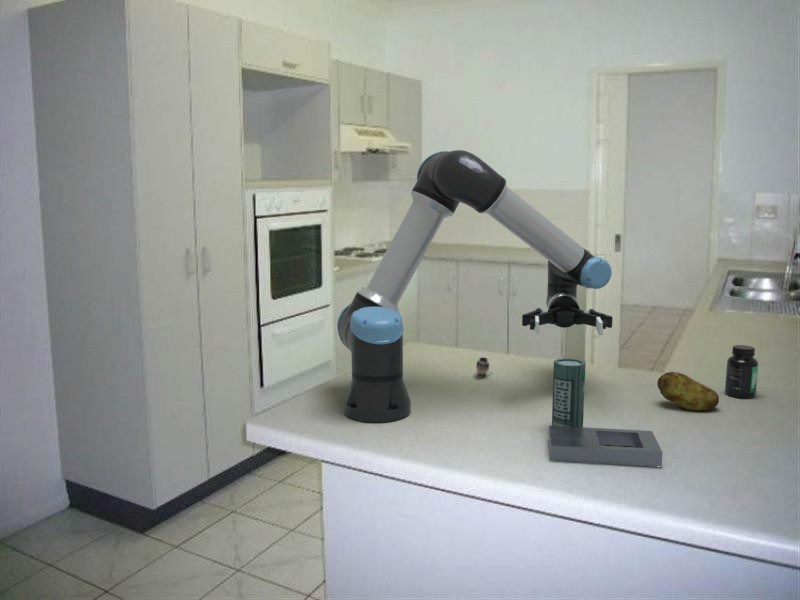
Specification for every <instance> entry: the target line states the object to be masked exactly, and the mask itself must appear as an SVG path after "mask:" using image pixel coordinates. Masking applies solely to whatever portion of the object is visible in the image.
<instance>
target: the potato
mask: <svg viewBox="0 0 800 600" xmlns="http://www.w3.org/2000/svg"><path fill="white" fill-rule="evenodd" d="M657 388H658V390H659V393H660V394H661V396H662V397H663V398H664V399H665V400H667V401H668V402H669V401H670V402H671V403H674V404H676V405H677V406H679V407H680V408H682V409H685V410H689V411H707V410H711V409H715V408H716V407H717V406H718V405H719V402H720V396H719V394H718V392H717V391H715V390H714V389H712V388H711V387H709V386H707V385H704V384H702V383H700V382H698V381H697V380H695V379H693V378H691V377H690V376H688V375H687V374H684V373H681V372H679V371H678V372H677V371H668V372H665V373H664V374H662V375H661V376H660V377H659V378H658V379H657Z"/></svg>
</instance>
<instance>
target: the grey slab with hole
mask: <svg viewBox="0 0 800 600" xmlns="http://www.w3.org/2000/svg"><path fill="white" fill-rule="evenodd" d="M606 445H610V446H606ZM611 445H612V446H611ZM623 446H630V447H623ZM631 446H632V447H631ZM548 447H549V459H550V461H551V462H562V461H566V462H565V463H579V464H581V463H583V464H595V463H597V465H611V464H613V465H615V466H628V465H631V466H632V467H644V466H656V467H655V468H658V467H657V466H660V467H663V463H662V462H663V454H664V453H663V450H662V448H661V446H660V444H659V442H658V439H656V436H655V434H654V432H653V431H652V430H644V429H642V430H641V429H640V430H639V429H638V430H637V429H622V428H621V429H620V428H619V429H618V428H603V427H602V428H601V427H587V426H586V427H584V426H583V427H567V426H552V425H548ZM631 466H630V467H631ZM660 467H659V468H660Z"/></svg>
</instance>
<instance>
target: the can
mask: <svg viewBox="0 0 800 600" xmlns="http://www.w3.org/2000/svg"><path fill="white" fill-rule="evenodd" d="M552 371H553V372H552V373H553V376H552V377H553V379H552V407H551V410H552V411H551V426H567V427H584V412H585V411H584V410H585V408H584V407H585V389H586V388H585V385H586V384H585V383H586V382H585V381H586V362H585V361H584V360H582V359H575V358H568V357H567V358H566V357H565V358H557V359H555V360H554V361H553V370H552Z"/></svg>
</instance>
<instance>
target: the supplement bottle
mask: <svg viewBox="0 0 800 600" xmlns="http://www.w3.org/2000/svg"><path fill="white" fill-rule="evenodd" d="M755 351H756V348H755V347H753V346H750V345H746V344H737V345H736V344H734V345H733V346H732V351H731V354H732V355H731V356H729V357H728V358H727V360H726V371H725V372H726V373H725V382H724V383H725V384H724V393H725V394H726V395H727V396H729V397H731V398H736V399H743V400H749V399H750V400H751V399H753V398H755V397H756V394H757V386H758V385H757V384H758V375H759V374H758V372H759V371H758V370H759V362H758V360H757V359H756V358H755V355H756V353H755Z"/></svg>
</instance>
